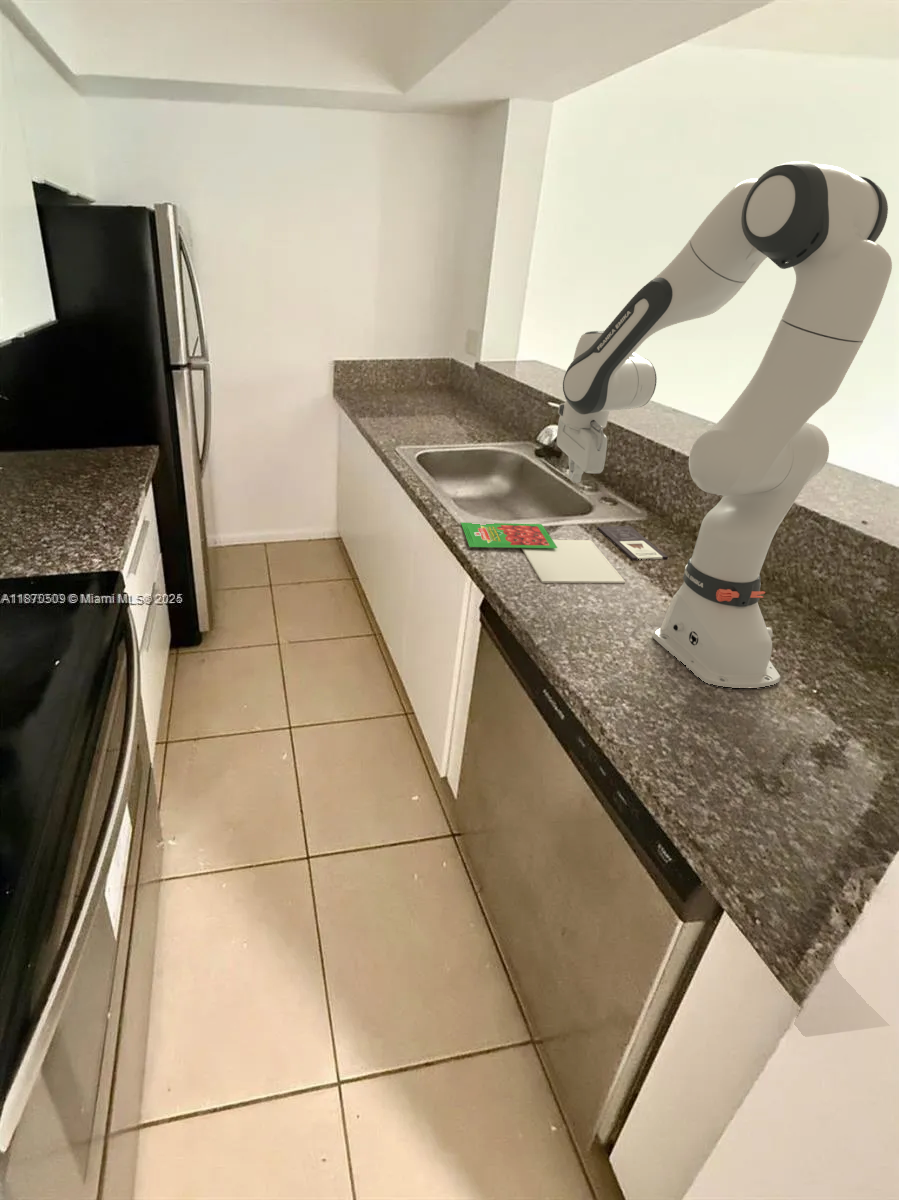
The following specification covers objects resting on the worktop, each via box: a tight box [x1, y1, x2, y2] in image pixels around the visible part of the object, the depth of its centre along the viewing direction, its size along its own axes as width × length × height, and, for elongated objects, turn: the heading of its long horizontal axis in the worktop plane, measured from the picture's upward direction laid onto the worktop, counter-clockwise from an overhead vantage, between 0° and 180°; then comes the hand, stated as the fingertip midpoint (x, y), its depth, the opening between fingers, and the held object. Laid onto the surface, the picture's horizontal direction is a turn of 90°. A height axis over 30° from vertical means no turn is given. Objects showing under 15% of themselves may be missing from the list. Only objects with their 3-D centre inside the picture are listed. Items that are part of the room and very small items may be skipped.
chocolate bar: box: [596, 525, 669, 561], centre depth 155 cm, size 9×1×18 cm
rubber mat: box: [521, 539, 626, 584], centre depth 142 cm, size 21×18×1 cm
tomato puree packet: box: [460, 522, 557, 549], centre depth 151 cm, size 15×1×20 cm
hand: (574, 480), depth 139 cm, fingers closed
